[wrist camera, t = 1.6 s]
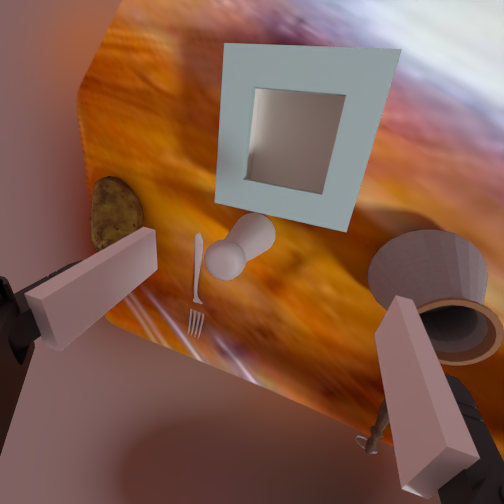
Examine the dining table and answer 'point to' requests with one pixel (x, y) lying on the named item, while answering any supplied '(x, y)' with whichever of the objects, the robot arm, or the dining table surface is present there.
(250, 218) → the salt shaker
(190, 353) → the dining table surface
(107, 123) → the dining table surface
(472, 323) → the coffee pot
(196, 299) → the fork
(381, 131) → the dining table surface
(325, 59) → the drop box
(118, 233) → the potato
